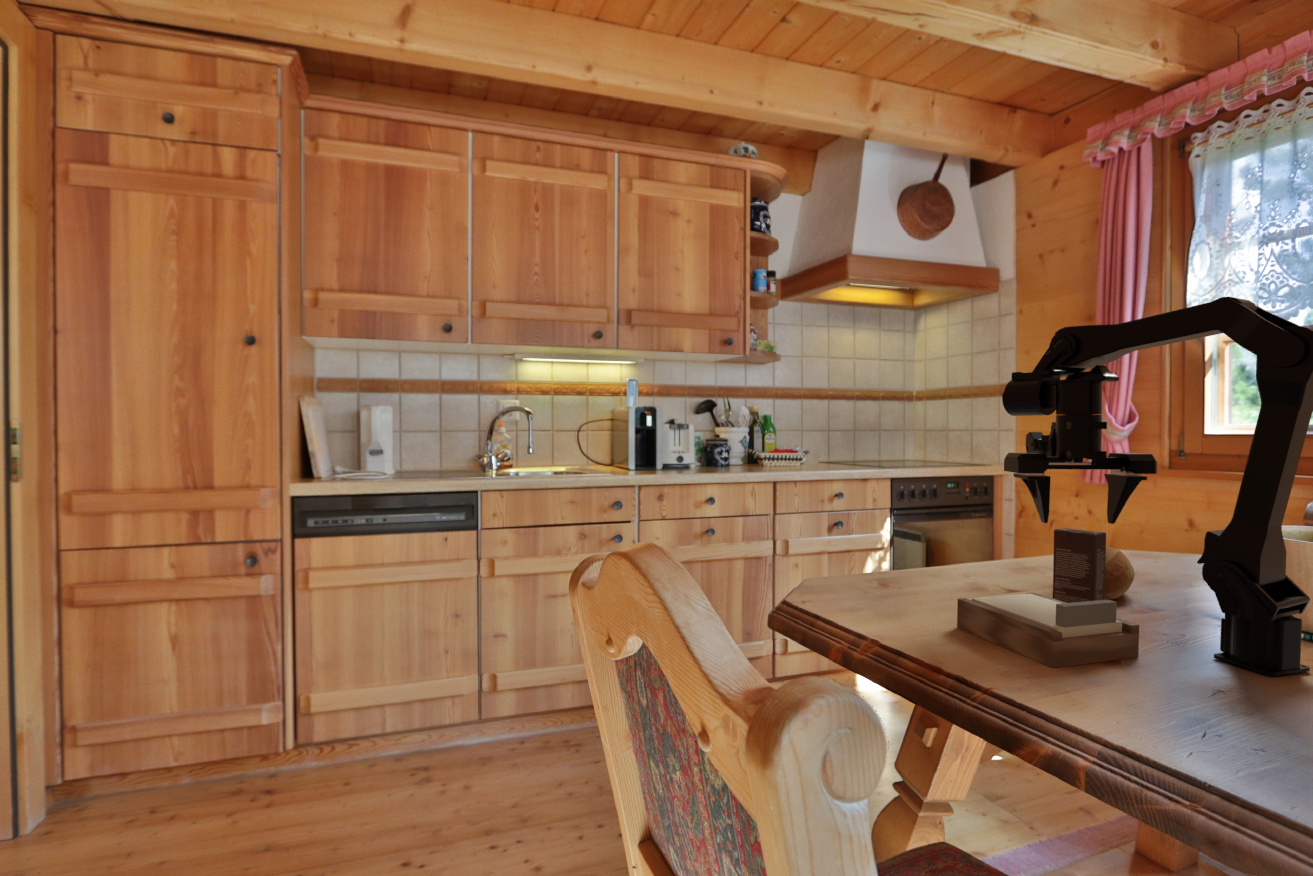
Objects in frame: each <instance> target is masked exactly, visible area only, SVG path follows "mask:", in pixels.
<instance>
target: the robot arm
mask: <svg viewBox="0 0 1313 876" xmlns="http://www.w3.org/2000/svg"><path fill="white" fill-rule="evenodd" d="M1220 334H1224V335H1225V336H1227V337H1228V338H1229V339H1230V340H1232V341H1233V342H1235V343H1236V345H1238V346H1240V347H1242V348H1243V349H1245V350H1246V351H1249V352H1250V353H1252V354H1254V355H1256V359H1255V360H1256V361H1255V362H1256V366H1255V381H1256V386H1257V390H1258V392H1259V393H1258V394H1259V399H1260V410H1259V412H1258V417H1257V421H1256V424H1255V428H1254V432H1253V435H1252V440H1251V443H1250V444H1251V445H1250V448H1249V452H1248V456H1247V459H1246V463H1245V468H1244V472H1243V475H1242V479H1241V483H1240V486H1239V490H1238V494H1237V498H1236V502H1235V506H1234V510H1233V514H1232V518H1231V520H1230V522H1229V523H1228V524H1227V525H1226V527H1224V529H1223V528H1222V529H1215V530H1209V531H1206V532H1205V536H1204V541H1203V542H1204V543H1203V546H1204V547H1203V552H1202V554H1201V556H1200V558H1198V560H1197V562H1196V563H1197V564H1199V565H1202V564H1203V565H1202V568H1201V576H1202V580H1203V582H1205V583H1206V585H1207V586H1208V587H1209V589H1211V590H1212V591H1213V592H1214V594H1215V597H1216V601H1217V603H1218V605H1219V608H1220V611H1221V613H1223V614H1224V617H1222V618H1221V619H1220V640H1219V650H1220V652H1217V653H1213V658H1214V659H1216V660H1219V661H1222V662H1225V663H1228V664H1232V665H1234V666H1238V667H1241V668H1243V669H1247V670H1251V671H1254V672H1257V673H1260V674H1263V675H1265V676H1270V677H1278V676H1285V675H1291V674H1300V673H1308V672H1310V670H1311V667H1310V666H1308V665H1306V664H1302V663H1301V655H1302V652H1301V651H1302V634H1303V633H1302V631H1303V630H1302V628H1303V619H1301V618H1300V617H1299V618H1297V617H1295V616H1294V615H1300V614H1301V615H1302V614H1303V613H1304V612H1305V611H1306V608H1307V607H1308V605H1309V603H1310V602H1311V598H1310V596H1309V595H1308V594H1306V593H1305V592H1304V590H1302V589H1301V588H1300V586H1299V585H1297V583H1295V582H1294V581H1293V579H1291V578H1290V577H1289V576H1288V575H1287V573H1286V568H1287V567H1286V566H1287V549H1286V544H1285V539H1284V536H1283V531H1282V529H1283V522H1284V518H1285V515H1286V511H1287V507H1288V504H1289V500H1290V496H1291V492H1292V488H1293V485H1294V481H1295V478H1296V474H1297V471H1298V467H1299V463H1300V459H1301V455H1302V452H1303V448H1304V444H1305V440H1306V437H1307V433H1308V430H1309V426H1310V422H1311V420H1312V419H1311V418H1312V415H1313V327H1308V326H1301V325H1299V324H1296V323H1294V322H1292V321H1291V320H1290V321H1289V320H1287V319H1286V318H1283V317H1281V316H1278V315H1276V314H1274V313H1272V312H1269V311H1267V310H1265V309H1264V308H1261V307H1259V306H1258V305H1256V304H1255V303H1254V302H1252V301H1251V300H1250V299H1249V300H1248V299H1244V298H1240V297H1234V296H1233V297H1232V296H1222V297H1218V298H1217V299H1214V300H1212V301H1209V302H1205V303H1201V304H1197V305H1196V304H1195V305H1193V306H1188V307H1184V308H1180V309H1176V310H1175V309H1174V310H1172V311H1167V312H1163V313H1159V314H1154V315H1150V316H1147V317H1141V318H1138V319H1132V320H1129V321H1125V322H1122V323H1121V322H1119V323H1113V324H1111V323H1110V324H1087V325H1084V324H1083V325H1071V326H1065V327H1062V328H1059V329H1058V330H1057V331H1055V332H1054V334H1053V336H1052V338H1051V340H1050V343H1049V346H1048V348H1047V350H1046V351H1045V352H1044V354H1043V355H1042V357H1041V358H1040V360H1039V361H1038V362H1037V364H1036V366H1035V367H1034V368H1033V370H1032V372H1031V371H1030V372H1027V371H1015V372H1012V373H1011V380H1009V381H1008V383H1007V384H1006V385H1005V388H1004V391H1003V392H1002V394H1001V401H1002V405H1003V408H1004V410H1005V411H1006V413H1007V414H1009V415H1010V416H1013V417H1015V416H1016V417H1019V416H1020V417H1022V416H1023V417H1024V416H1025V417H1026V416H1028V417H1029V416H1033V417H1034V416H1051V415H1052V414H1054V413H1055V421H1052V422H1051V425H1050V432H1049V434H1043V432H1042V431H1029V432H1028V433H1026V434H1025V450H1026V451H1025V452H1008V453H1007V454H1006V456H1005V457H1004V459H1003V471H1004V472H1009V473H1012V475H1013V477H1014V478H1018V479H1020V480H1021V481H1022V482H1023V483H1024V485H1025V486H1026V488H1027V489H1028V491H1029V493H1030V496H1031V497H1032V499H1033V503H1034V505H1035V509H1036V511H1037V514H1038V516H1039V519H1040V521H1041V522H1042V523H1043V524H1048V521H1049V517H1050V501H1051V499H1050V498H1051V475H1046V474H1045V472H1047V471H1048V470H1109V471H1110V473H1104V477H1105V480H1106V484H1107V487H1108V489H1107V503H1106V505H1107V507H1106V516H1107V523H1108V524H1111V525H1113V524H1115V523H1116V522H1117V519H1118V518H1119V516H1120V515H1121V513H1122V512H1123V511H1122V510H1123V509H1124V507H1125V505H1126V504H1127V502H1128V500H1129V498H1130V496H1131V495H1132V494H1133V493H1134V491H1135V490H1136V489H1137V488H1138V486H1139V484H1140V483H1141V481H1148V476H1145V475H1156V474H1158V461H1157V459H1156V457H1155V456H1154V455H1153V453H1141V452H1140V453H1139V452H1137V453H1136V452H1109V453H1108V451H1106V450H1103V449H1102V448H1103V445H1102V444H1103V443H1102V441H1103V438H1102V437H1103V430H1107V429H1108V422H1107V421H1103V415H1102V414H1103V383H1117V382H1118V381H1120V377H1119V376H1118V375H1116V374H1115V373H1114V372H1113V371H1111V370H1110V369H1109V368H1108V367H1107V365H1106V364H1110V363H1112V362H1115V361H1117V360H1119V359H1120V358H1122V357H1124V356H1125V355H1128V354H1131V353H1133V352H1136V351H1140V350H1146V349H1150V348H1155V347H1162V346H1166V345H1171V344H1175V343H1181V342H1186V341H1191V340H1195V339H1196V340H1197V339H1200V338H1205V337H1211V336H1216V335H1220ZM1088 369H1090V370H1088ZM1061 378H1065V379H1061ZM1107 453H1108V455H1107ZM1084 459H1086V460H1091V461H1084Z"/></svg>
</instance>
